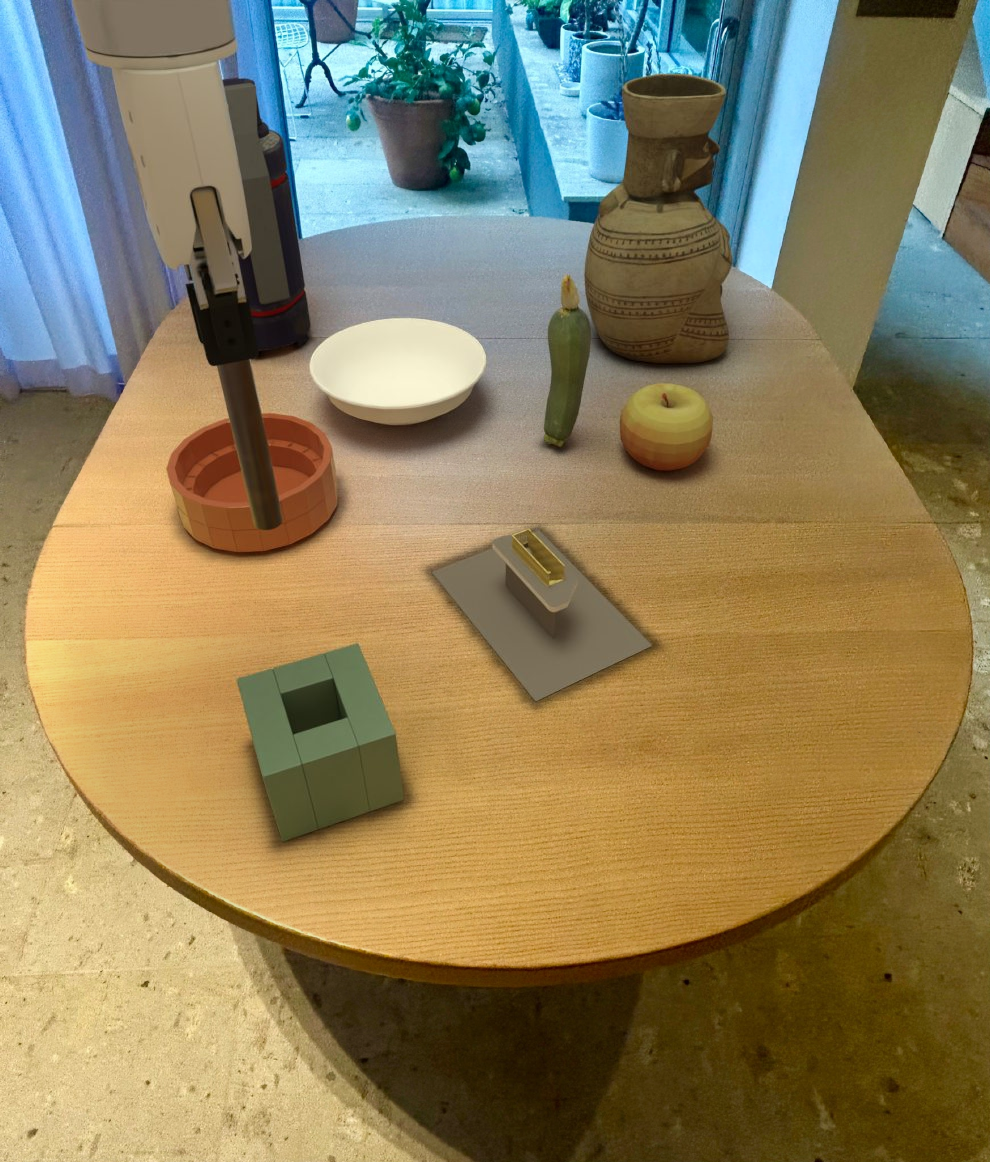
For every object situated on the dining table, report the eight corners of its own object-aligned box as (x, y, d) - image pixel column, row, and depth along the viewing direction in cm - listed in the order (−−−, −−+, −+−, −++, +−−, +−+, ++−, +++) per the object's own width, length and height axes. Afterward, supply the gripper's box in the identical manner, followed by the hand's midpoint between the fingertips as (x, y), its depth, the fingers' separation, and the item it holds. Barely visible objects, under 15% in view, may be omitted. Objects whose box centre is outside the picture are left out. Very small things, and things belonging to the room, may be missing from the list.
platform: (538, 530, 87) (541, 476, 83) (652, 645, 76) (662, 590, 72) (431, 572, 83) (427, 517, 78) (535, 701, 72) (538, 646, 67)
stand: (282, 842, 62) (262, 777, 57) (256, 745, 69) (236, 678, 63) (404, 800, 65) (395, 733, 60) (368, 710, 71) (358, 642, 66)
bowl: (518, 426, 101) (519, 376, 96) (356, 477, 94) (349, 426, 89) (440, 350, 113) (438, 303, 109) (292, 390, 106) (283, 341, 102)
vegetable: (561, 429, 100) (572, 256, 87) (590, 445, 98) (606, 270, 84) (534, 445, 98) (541, 270, 84) (563, 461, 96) (575, 284, 82)
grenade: (208, 329, 117) (148, 75, 97) (293, 308, 122) (253, 62, 101) (240, 376, 109) (182, 108, 88) (331, 352, 113) (296, 92, 92)
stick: (257, 533, 66) (197, 275, 53) (250, 516, 68) (190, 261, 54) (286, 526, 67) (234, 269, 53) (279, 509, 68) (227, 255, 55)
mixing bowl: (195, 573, 83) (179, 524, 79) (172, 480, 93) (157, 432, 89) (357, 532, 87) (350, 483, 83) (317, 448, 98) (309, 401, 93)
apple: (599, 463, 96) (605, 398, 90) (641, 421, 102) (649, 358, 96) (682, 494, 92) (694, 429, 86) (721, 449, 98) (734, 385, 92)
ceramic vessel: (747, 318, 120) (799, 69, 99) (703, 393, 106) (754, 122, 85) (614, 291, 126) (638, 51, 105) (556, 358, 112) (570, 97, 91)
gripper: (66, -5, 49) (152, 308, 62) (94, 64, 38) (191, 425, 51) (203, -14, 51) (259, 289, 64) (266, 48, 41) (318, 398, 53)
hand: (228, 347), depth 57 cm, fingers closed on stick, 2 cm apart
